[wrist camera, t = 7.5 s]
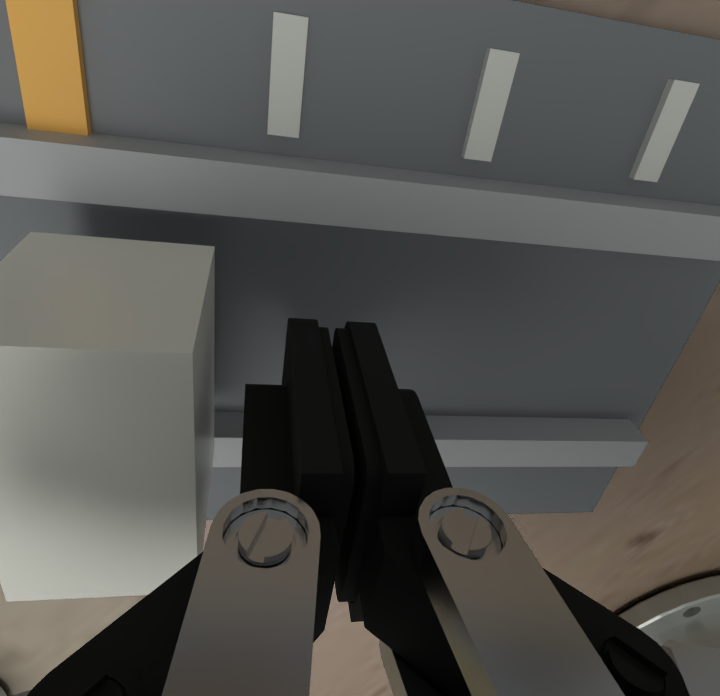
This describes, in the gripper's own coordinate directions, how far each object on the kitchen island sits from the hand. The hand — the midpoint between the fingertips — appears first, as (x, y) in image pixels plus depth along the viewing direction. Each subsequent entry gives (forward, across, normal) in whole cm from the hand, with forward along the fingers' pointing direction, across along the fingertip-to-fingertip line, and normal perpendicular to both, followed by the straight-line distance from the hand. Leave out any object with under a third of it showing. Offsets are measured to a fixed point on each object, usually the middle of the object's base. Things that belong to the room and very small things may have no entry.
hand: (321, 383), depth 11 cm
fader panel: (+5, +1, 0) cm, 5 cm away
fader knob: (+2, +4, 0) cm, 4 cm away
